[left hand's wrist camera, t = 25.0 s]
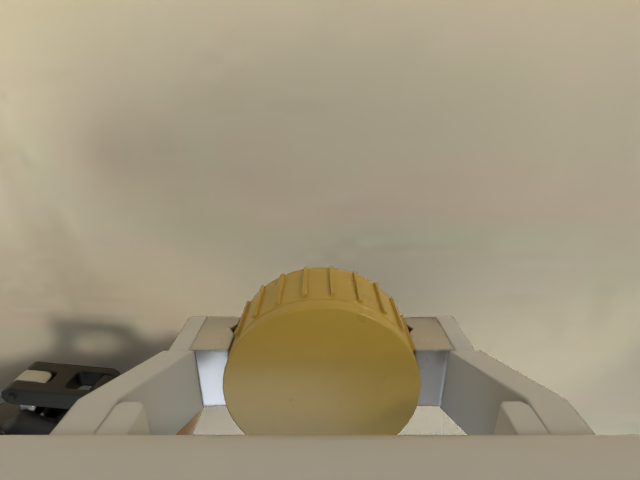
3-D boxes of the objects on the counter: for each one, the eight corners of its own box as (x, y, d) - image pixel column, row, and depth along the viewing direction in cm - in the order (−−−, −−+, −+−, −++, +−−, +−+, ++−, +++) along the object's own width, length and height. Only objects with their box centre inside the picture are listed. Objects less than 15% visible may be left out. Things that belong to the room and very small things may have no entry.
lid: (425, 279, 10) (451, 322, 8) (383, 413, 11) (396, 475, 10) (246, 250, 9) (228, 288, 7) (230, 393, 11) (212, 452, 9)
